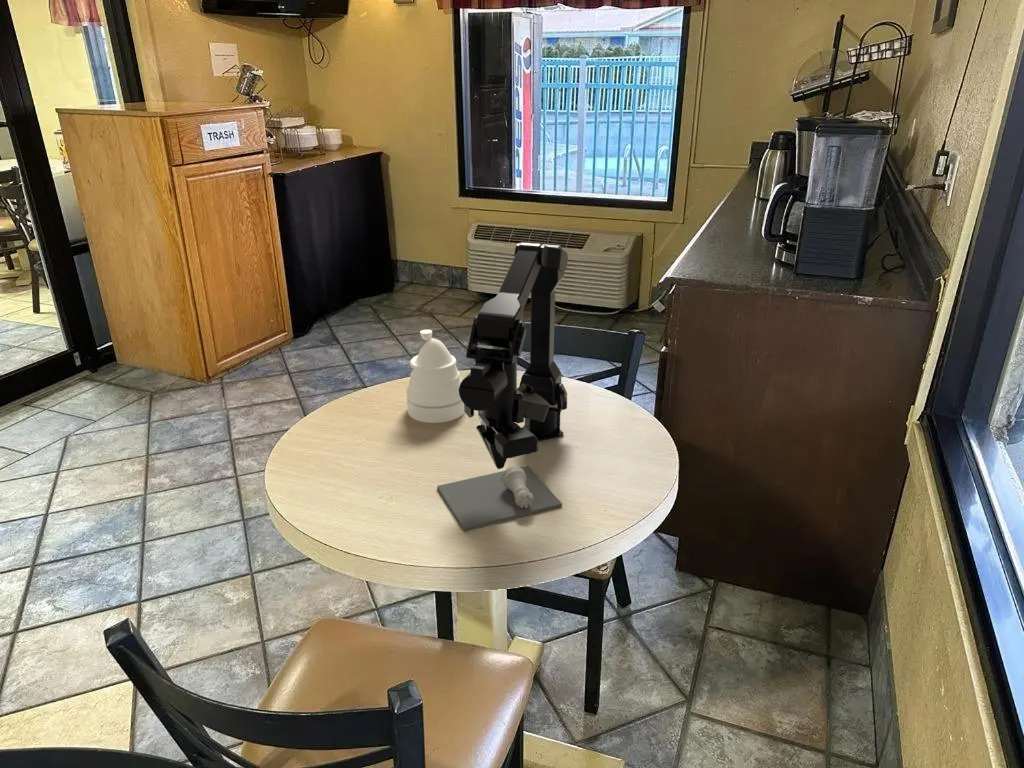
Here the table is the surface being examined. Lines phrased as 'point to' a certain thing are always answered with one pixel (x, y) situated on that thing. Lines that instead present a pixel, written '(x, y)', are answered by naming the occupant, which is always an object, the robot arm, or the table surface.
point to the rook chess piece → (517, 486)
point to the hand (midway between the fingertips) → (499, 467)
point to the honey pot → (434, 384)
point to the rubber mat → (494, 499)
